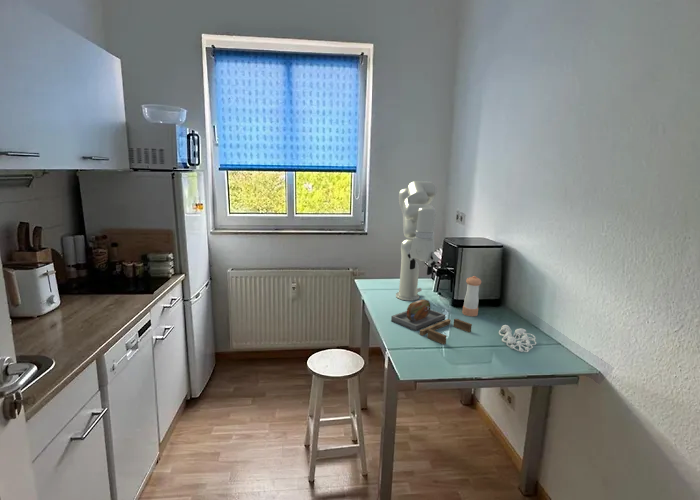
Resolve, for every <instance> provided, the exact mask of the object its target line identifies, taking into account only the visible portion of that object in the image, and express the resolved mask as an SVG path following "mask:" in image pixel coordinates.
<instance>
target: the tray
mask: <svg viewBox="0 0 700 500" xmlns="http://www.w3.org/2000/svg"><path fill="white" fill-rule="evenodd" d="M444 320H446V314H444V313H441V312H439V311H437V310H433V309H431V308H430V312H429V314H428V316H427V317H425V318H423V319H420V320H418V321H415V322H414V321H411V320H409V319H408V318H407V310H405V311H402V312H399V313H396V314H393V315H391V320H390V322H392V323H395V324H397V325H400V326H401V327H405V328H407V329H410V330H411V331H414V332H418V331H420V330H422V329H424V328H427V327H429V326H432V325H434V324H437V323H439V322H441V321H444Z"/></svg>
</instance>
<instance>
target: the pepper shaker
mask: <svg viewBox="0 0 700 500" xmlns="http://www.w3.org/2000/svg"><path fill="white" fill-rule="evenodd" d="M465 281H466V284H467V287H466V293H465V295H464V299H463V301H464V302H463V306H462V310H461V313H462V315H464V316H466V317H467V316H468V317H477V316H478V314H479V292H480V291H479V290H480V286H481V284H482V280H481V278H479V277H477V276H476V275H473V276H469V277H467V278H466V280H465Z"/></svg>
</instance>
